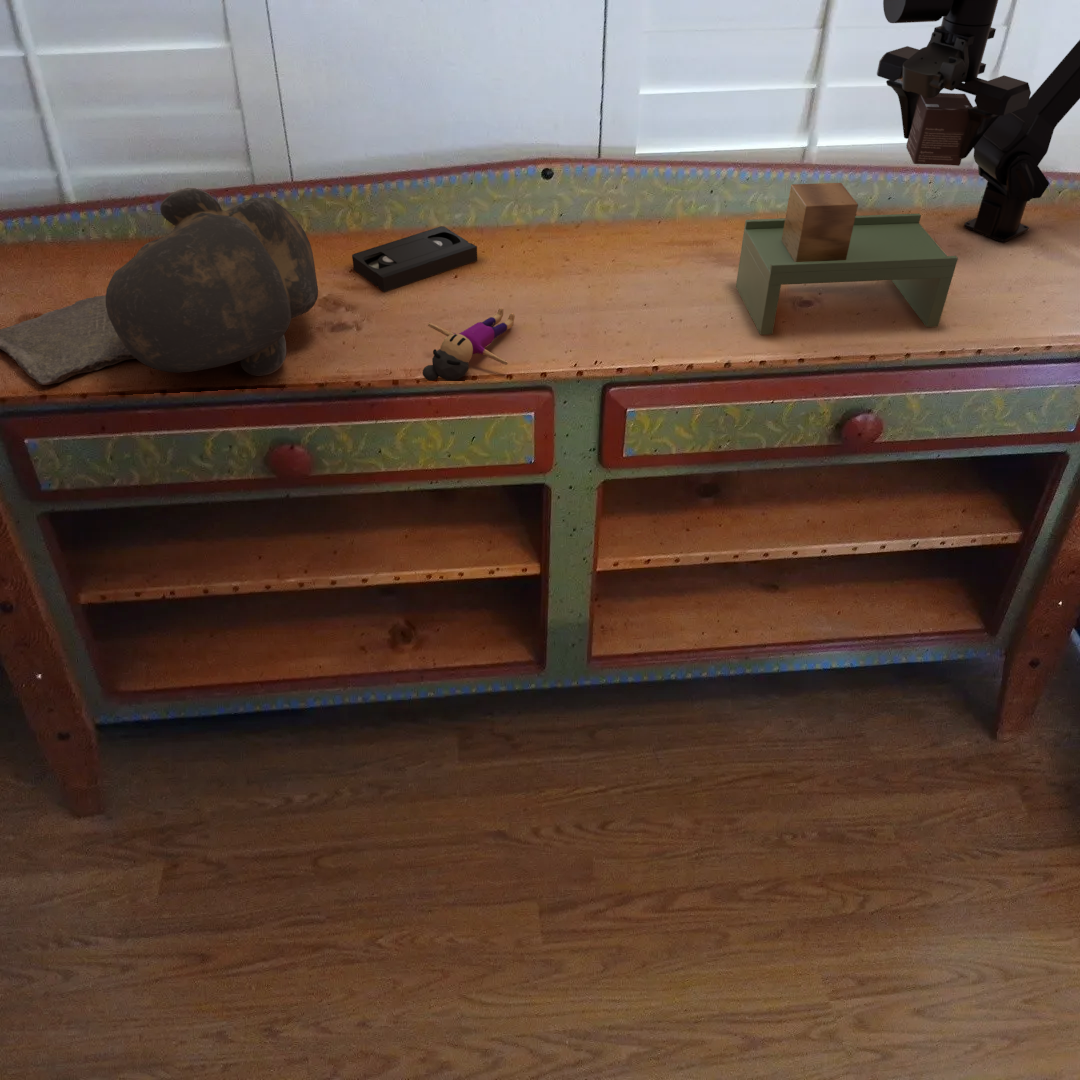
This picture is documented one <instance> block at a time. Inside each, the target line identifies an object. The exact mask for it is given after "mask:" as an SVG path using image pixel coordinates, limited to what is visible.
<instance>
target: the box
mask: <svg viewBox="0 0 1080 1080" xmlns="http://www.w3.org/2000/svg"><path fill="white" fill-rule="evenodd" d="M972 107H974V106H973V104H972V103H971V101H970V99H969V97H968V96H967V94H966V93H954V92H953V93H951V92H949V93H948V92H940V93H939V94H938V95H937V96H935V97H933V98H925V97H922V96H921V95H920V94H919V96H918V100H917V104H916V108H915V112H914V117H913V121H912V124H911V129H910V133H909V137H908V139H907V141H906V147H905V148H906V150H907V152H908V155H909V156H910V159H911V161H912V164H913V165H932V166H933V165H936V166H957V167H959V166H961V163H962V160H963V159H961V158H959V156H960V151H961V146H962V143H963V140H964V136H965V133H966V130H967V127H968V124H969V120H970V118H969V114H968V109H969V108H972Z"/></svg>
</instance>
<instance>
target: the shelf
mask: <svg viewBox="0 0 1080 1080" xmlns="http://www.w3.org/2000/svg"><path fill="white" fill-rule="evenodd" d="M921 216H922V215H921V214H920V213H892V214H867V215H865V214H863V215H856V216H855V221H854V226H853V230H852V235H851V239H850V244H849V249H848V253H847V258H846V260H838V261H813V262H794V260H793V259H792V257H791V255H790V254H789V252H788V251H787V249H786V247H785V246H784V244H783V242H782V235H783V229H784V223H785V218H786V217H785V218H783V217H782V218H756V219H754V218H753V219H745V220H744V228H743V234H742V241H741V247H740V253H739V254H740V255H739V261H738V268H737V274H736V281H735V288H736V290H737V292H738V295H739V296H740V298H741V300H742V302H743V304H744V306H745V308H746V310H747V311H748V313H749V316H750V317H751V319H752V322H753V323H754V325H755V327H756V329H757V332H758V333H759V336H769V335H773V332H774V326H775V322H776V316H777V311H778V304H779V299H780V294H781V293H780V292H781V289H782V288H781V287H782V285H783V286H784V285H809V284H811V285H812V284H831V283H832V284H833V283H854V282H855V283H857V282H877V281H879V282H881V281H891V282H892V284H894V286H895V287H896V288H897V290H898V291H899V293H900V294H901V295H902V297H903V298H904V299H905V300H906V302H907V304H908V305H909V306H910V307H911V309H912V310H913V312H914V314H916V316H917V317H918V318H919V320H920V321H921V322H922V324H923V325H924V326H925V327H926V328H938V327H939V325H940V321H941V318H942V315H943V311H944V307H945V304H946V301H947V297H948V294H949V290H950V288H951V283H952V280H953V277H954V274H955V270H956V266H957V263H958V260H959V257H958V256H957V255H947V254H946V252H945V251H944V250H943V249H942V247H940V246H939V244H937V242H936V241H935V240H934V239H933V238H932V236H931V235H930V234H929V233H928V232H927V231H926V229H925V228H924V227H923V226H922V225H921V224H920V220H921Z"/></svg>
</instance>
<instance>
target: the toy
mask: <svg viewBox="0 0 1080 1080" xmlns="http://www.w3.org/2000/svg"><path fill="white" fill-rule="evenodd" d="M515 316H516V315H515V313H513V312H511V313H510V314H509V316H508V317H507V319H506V320H505V321H503V322H502V319H503V317H504V308H503V307H499V308H498V310H497V312H496V314H494V315H492V316H490V317H488V318H486V319H485V320H483V321H479V322H476V323H474V324H473V325H471V326H470V327H468V328H465V330H463V331H460V332H459V333H456V332H452V331H450V330H447V329H445V328H443V327H441V326H439V325H437V324H435V323H432V322H428V323H427V324H428V327H429V328H430V329H433V330H435V331H437V332H438V333H441V334H442V335H444V336H445V338H444V339H443V340H442V342H441V345H440V348H439V349H436V348H435V349H433V351H432V354H433V356H432V358H431V361H432V364H428V365H426V366H424V368H422V376H423V378H424V379H425V380H427V381H428V382H431V381H436V380H437V379H438V378H441V379H443V380H445V381H458V380H459V379H461V378H464V377H465V376H466V374H467V372H468V371H469V368H470V365H469V362H470V361H471V359H472V357H473V355H475V354H480V355H481V356H485V357H488V358H490V359H492V360H494V361H496V362H498V363H500V364H502V365H505V366H506V365H508V364H509V362H508V361H507V359H504V358H502V357H500V356H499V355H496V354H495V353H492V352H491V351H489V350H488V349H486V347H488V346H490V345H491V344H492V343H493V341H494V340H496V339H497V338H498V337H500V336H501V335H502V334H504V333H505V332H507V330H509V329H511V328H512V327H513V326H514V322H515Z"/></svg>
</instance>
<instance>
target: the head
mask: <svg viewBox="0 0 1080 1080" xmlns="http://www.w3.org/2000/svg"><path fill="white" fill-rule="evenodd" d="M159 210H160V214H161V215H162V217H163V218H164V220H166V221H167V222H168V223H170V224H172V225H173V226H174V228H173V230H171V231H170V232H169V233H168V234H166V235H165V236H161V237H160V238H157V239H154V240H151V241H149V242H147V243H145V244H144V245H143V246H142V247H141V248H139V250H138V251H137V253H136V254H135V255H134V256H133V257H132V258H131V259H129V260H128V261H127V262H126V263H125V264H123V265H122V266H121V267H119V268H118V269H116V270H115V272H114V273H113V275H112V276H111V278H110V280H109V283H108V285H107V287H106V292H105V296H106V309H107V313H108V317H109V319H110V321H111V323H112V325H113V327H114V329H115V331H116V333H117V335H118V336H119V338H120V340H121V341H122V343H123V344H124V346H125V347H126V349H127V350H128V351H129V352H130V353H131V355H132V356H134V357H135V359H136V360H137V361H139V362H140V363H141V364H143V365H145V366H147V367H149V368H151V369H153V370H157V371H161V372H167V373H178V374H180V373H192V372H197V371H203V370H204V371H205V370H209V369H214V368H218V367H224V366H226V365H227V366H228V365H231V364H233V363H237V362H239V363H240V367H241V368H242V370H243V371H244V372H245V373H246V374H249V375H251V376H257V377H261V376H268V375H271V374H272V373H274V372H277V371H278V370H279V369H280V368H281V367H283V364H284V362H285V360H286V358H287V357H286V356H287V342H286V337H285V333H286V332H287V331H288V330H289V327H290V325H291V322H292V320H293V319H295V318H298V317H300V316H303V315H305V314H306V313H308V312H310V310H311V309H312V308H313V307H314V306H315V304H316V302H317V300H318V296H319V286H318V280H317V273H316V265H315V259H314V252H313V249H312V245H311V242H310V240H309V237H308V236H307V233H306V231H305V230H304V228H303V227H302V226H301V223H299V221H298V220H297V218H295V216H294V215H293V214H291V212H290V211H288V210H287V209H286V208H285V207H283V205H281V204H280V203H278V202H277V201H276V200H275V199H273V198H270V197H261V196H257V197H254V198H253V197H252V198H249V199H248V200H245V201H243V202H241V203H240V204H237V205H236V206H234V207H231V208H229V209H227V210H223V208H222V207H221V205H220V203H219V202H218V201H217V199H216V198H215V197H213V196H212V195H211V194H210V193H208V192H207V191H205V190H203V189H199V188H196V187H186V188H183V189H178V190H175V191H174V192H172V193H170V194H169V195H168V196H167V197H165V198H164V199H163V201H162V202H161V204H160V206H159Z"/></svg>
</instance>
